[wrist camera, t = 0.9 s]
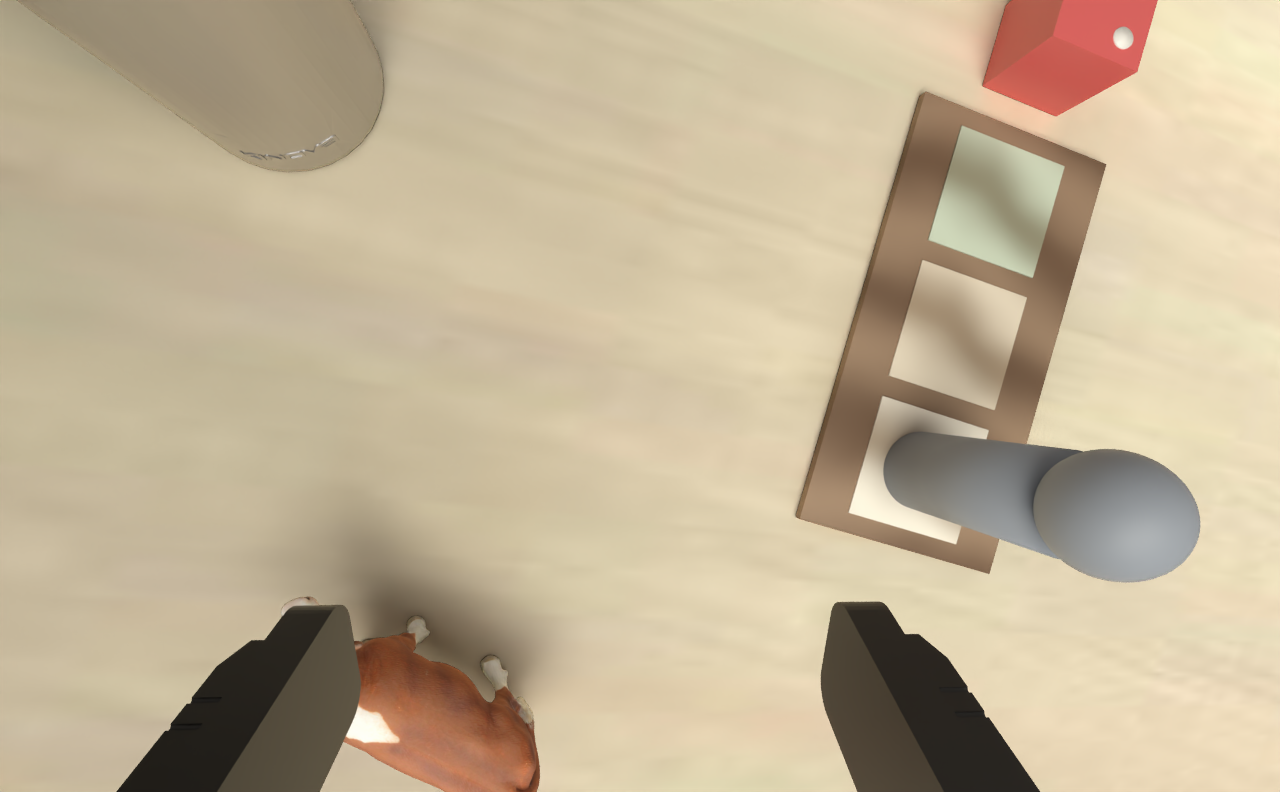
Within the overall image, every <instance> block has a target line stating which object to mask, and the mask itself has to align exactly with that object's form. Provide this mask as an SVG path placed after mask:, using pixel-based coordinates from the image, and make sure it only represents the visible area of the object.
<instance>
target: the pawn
mask: <svg viewBox="0 0 1280 792" xmlns="http://www.w3.org/2000/svg"><path fill="white" fill-rule="evenodd" d="M883 475H884V481H885V485H886V487H887V489H888V491H889V493H890V494H891V496H892V497H893V498H894V499H895V500H896V501H897V502H898V503H900V504H901V505H903V506H905V507H908V508H911V509H914V510H917V511H920V512H922V513H925V514H928V515H931V516H934V517H937V518H940V519H943V520H946V521H949V522H951V523H954V524H957V525H960V526H963V527H966V528H969V529H972V530H975V531H978V532H981V533H983V534H986V535H989V536H992V537H995V538H998V539H1001V540H1004V541H1007V542H1010V543H1012V544H1015V545H1018V546H1021V547H1024V548H1027V549H1030V550H1033V551H1036V552H1039V553H1041V554H1044V555H1047V556H1050V557H1053V558H1057V559H1061V560H1062V561H1063V562H1065V563H1066V564H1067V565H1069V566H1071V567H1072V568H1074V569H1076V570H1078V571H1080V572H1082V573H1084V574H1086V575H1089V576H1092V577H1095V578H1098V579H1102V580H1107V581H1113V582H1141V581H1146V580H1151V579H1154V578H1157V577H1160V576H1162V575H1165V574H1167V573H1169V572H1171V571H1172V570H1174V569H1175V568H1177V567H1178V566H1179V565H1181V564H1182V563H1183V562H1184V561H1185V560H1186V559H1187V558H1188V556H1189V555H1190V554H1191V552H1192V551H1193V549H1194V547H1195V545H1196V543H1197V540H1198V537H1199V533H1200V516H1199V511H1198V507H1197V504H1196V502H1195V499H1194V498H1193V496H1192V494H1191V492H1190V491H1189V489H1188V488H1187V486H1186V485H1185V484H1184V483H1183V482H1182V481H1181V480H1180V479H1179V478H1178V476H1177V475H1175V474H1174V473H1173V472H1172V471H1170V470H1169V469H1168V468H1166V467H1165V466H1163V465H1162V464H1160V463H1158V462H1156V461H1154V460H1152V459H1150V458H1148V457H1145V456H1143V455H1140V454H1137V453H1133V452H1129V451H1123V450H1115V449H1098V450H1090V451H1085V452H1083V451H1079V450H1071V449H1063V448H1054V447H1046V446H1038V445H1029V444H1021V443H1013V442H1005V441H996V440H988V439H980V438H972V437H963V436H955V435H947V434H938V433H930V432H913V433H909V434H907V435H905V436H903V437H901V438H900V439H898V440H897V441H896V442H895V443H894V444H893V445H892V447H891V448H890V450H889V451H888V453H887V455H886V458H885V462H884V468H883Z"/></svg>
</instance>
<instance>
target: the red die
mask: <svg viewBox="0 0 1280 792" xmlns="http://www.w3.org/2000/svg"><path fill="white" fill-rule="evenodd" d="M1157 1H1158V0H1011V1H1010V2H1009V3H1008V4H1007V5H1006V7H1005V10H1004V14H1003V17H1002V21H1001V24H1000V28H999V31H998V34H997V38H996V41H995V45H994V48H993V52H992V55H991V58H990V62H989V65H988V69H987V72H986V75H985V79H984V82H983V87H986V88H988V89H991V90H993V91H996V92H998V93H1001V94H1003V95H1005V96H1008V97H1010V98H1013V99H1015V100H1018V101H1020V102H1022V103H1025V104H1027V105H1030V106H1032V107H1035V108H1037V109H1039V110H1042V111H1044V112H1047V113H1049V114H1052V115H1054V116H1058V115H1060V114H1061V113H1063V112H1065V111H1067V110H1069V109H1071V108H1072V107H1074V106H1076V105H1078V104H1080V103H1081V102H1083V101H1085V100H1087V99H1089V98H1091V97H1092V96H1094V95H1096V94H1098V93H1100V92H1102V91H1103V90H1105V89H1107V88H1109V87H1111V86H1112V85H1114V84H1116V83H1118V82H1120V81H1122V80H1123V79H1125V78H1127V77H1129V76H1131V75H1133V74H1134V73H1136V72H1137V71H1138V67H1139V64H1140V60H1141V57H1142V53H1143V50H1144V46H1145V43H1146V39H1147V36H1148V32H1149V29H1150V25H1151V22H1152V18H1153V15H1154V11H1155V8H1156V4H1157Z"/></svg>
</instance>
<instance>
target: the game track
mask: <svg viewBox="0 0 1280 792" xmlns="http://www.w3.org/2000/svg"><path fill="white" fill-rule="evenodd" d="M1105 167H1106V164H1104V163H1102V162H1099V161H1097V160H1094V159H1092V158H1089V157H1087V156H1084V155H1082V154H1079V153H1077V152H1074V151H1072V150H1069V149H1067V148H1064V147H1062V146H1059V145H1057V144H1054V143H1052V142H1049V141H1047V140H1045V139H1042V138H1040V137H1037V136H1035V135H1032V134H1030V133H1027V132H1025V131H1022V130H1020V129H1017V128H1015V127H1012V126H1010V125H1007V124H1005V123H1002V122H1000V121H997V120H995V119H992V118H990V117H987V116H985V115H983V114H980V113H978V112H975V111H973V110H970V109H968V108H965V107H963V106H960V105H958V104H955V103H953V102H950V101H948V100H945V99H943V98H940V97H938V96H935V95H933V94H930V93H928V92H925V93H923V94H922V95H921V96H920V97H919V99H918V103H917V106H916V110H915V113H914V116H913V120H912V123H911V127H910V130H909V133H908V137H907V140H906V144H905V147H904V150H903V154H902V157H901V160H900V164H899V167H898V171H897V174H896V177H895V181H894V184H893V188H892V191H891V194H890V198H889V201H888V205H887V208H886V211H885V215H884V218H883V222H882V225H881V228H880V232H879V235H878V238H877V242H876V245H875V249H874V252H873V255H872V259H871V262H870V266H869V269H868V272H867V276H866V279H865V283H864V286H863V289H862V293H861V296H860V300H859V303H858V306H857V310H856V313H855V316H854V320H853V323H852V327H851V330H850V333H849V337H848V340H847V344H846V347H845V350H844V354H843V357H842V361H841V364H840V367H839V371H838V374H837V378H836V381H835V384H834V388H833V391H832V394H831V398H830V401H829V405H828V408H827V411H826V415H825V418H824V422H823V425H822V428H821V432H820V435H819V439H818V442H817V445H816V449H815V452H814V456H813V459H812V462H811V466H810V469H809V473H808V476H807V479H806V483H805V486H804V489H803V493H802V496H801V500H800V503H799V506H798V510H797V513H796V517H797V518H799V519H801V520H805V521H808V522H812V523H815V524H819V525H822V526H825V527H829V528H832V529H836V530H839V531H843V532H846V533H850V534H853V535H857V536H860V537H863V538H867V539H870V540H874V541H877V542H881V543H884V544H888V545H891V546H895V547H898V548H901V549H905V550H908V551H912V552H915V553H919V554H922V555H926V556H929V557H933V558H936V559H940V560H943V561H946V562H950V563H953V564H957V565H960V566H964V567H967V568H971V569H974V570H978V571H981V572H984V573H988V574H989V573H990V570H991V566H992V563H993V559H994V556H995V552H996V549H997V545H998V542H999V539H998V538H995V537H992V536H989V535H986V534H983V533H981V532H978V531H975V530H972V529H969V528H966V527H963V526H960V525H957V524H954V523H951V522H949V521H946V520H943V519H940V518H937V517H934V516H931V515H928V514H925V513H922V512H920V511H917V510H914V509H911V508H908V507H905V506H903V505H901V504H900V503H898V502H897V501H896V500H895V499H894V498H893V497H892V496H891V494H890V493H889V491H888V489H887V487H886V485H885V481H884V475H883V468H884V462H885V458H886V455H887V453H888V451H889V450H890V448H891V447H892V445H893V444H894V443H895V442H896V441H897V440H898V439H900V438H901V437H903V436H905V435H907V434H909V433H913V432H930V433H938V434H947V435H955V436H963V437H972V438H980V439H988V440H996V441H1005V442H1013V443H1021V444H1027V440H1028V437H1029V433H1030V430H1031V426H1032V423H1033V419H1034V416H1035V412H1036V409H1037V405H1038V402H1039V398H1040V395H1041V391H1042V387H1043V384H1044V380H1045V377H1046V373H1047V370H1048V366H1049V363H1050V359H1051V356H1052V352H1053V349H1054V345H1055V342H1056V338H1057V335H1058V331H1059V328H1060V324H1061V321H1062V317H1063V314H1064V310H1065V307H1066V303H1067V300H1068V296H1069V293H1070V289H1071V286H1072V282H1073V279H1074V275H1075V272H1076V268H1077V265H1078V261H1079V258H1080V254H1081V251H1082V247H1083V244H1084V240H1085V237H1086V233H1087V230H1088V226H1089V223H1090V219H1091V216H1092V212H1093V209H1094V205H1095V202H1096V198H1097V195H1098V191H1099V188H1100V184H1101V181H1102V177H1103V174H1104V170H1105Z"/></svg>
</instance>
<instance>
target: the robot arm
mask: <svg viewBox="0 0 1280 792" xmlns="http://www.w3.org/2000/svg"><path fill="white" fill-rule="evenodd" d="M17 1H18V2H20V3H21V4H22V5H24V6H25V7H27V8H28V9H29V10H31V11H32V12H34V13H35V14H36V15H38V16H39V17H41V18H42V19H43V20H45V21H46V22H48V23H49V24H50V25H52V26H53V27H55V28H56V29H57V30H59V31H60V32H62V33H63V34H64V35H66V36H67V37H69V38H70V39H71V40H73V41H74V42H76V43H77V44H78V45H80V46H81V47H83V48H84V49H85V50H87V51H88V52H90V53H91V54H92V55H94V56H95V57H97V58H98V59H99V60H101V61H102V62H104V63H105V64H106V65H108V66H109V67H111V68H112V69H113V70H115V71H116V72H118V73H119V74H120V75H122V76H123V77H125V78H126V79H127V80H129V81H130V82H132V83H133V84H134V85H136V86H137V87H139V88H140V89H141V90H143V91H144V92H146V93H147V94H148V95H150V96H151V97H153V98H154V99H155V100H157V101H158V102H160V103H161V104H162V105H164V106H165V107H167V108H168V109H169V110H171V111H172V112H174V113H175V114H176V115H178V116H179V117H180V118H182V119H183V120H185V121H186V122H187V123H189V124H190V125H192V126H193V127H194V128H196V129H197V130H199V131H200V132H201V133H203V134H204V135H206V136H207V137H209V138H210V139H211V140H213V141H214V142H216V143H217V144H218V145H220V146H221V147H223V148H224V149H225V150H227V151H228V152H230V153H232V154H233V155H235V156H237V157H239V158H240V159H242V160H244V161H246V162H248V163H250V164H253V165H256V166H259V167H262V168H265V169H270V170H277V171H285V172H295V171H309V170H313V169H316V168H320V167H323V166H327V165H330V164H332V163H333V162H335V161H337V160H339V159H341V158H343V157H345V156H346V155H348V154H349V153H350V152H351V151H352V150H354V149H355V148H356V147H357V146H358V145H359V144H361V142H362V141H363V140H364V138H365V137H366V136H367V134H368V133H369V132H370V130H371V129H372V127H373V125H374V123H375V121H376V118H377V116H378V114H379V111H380V107H381V102H382V97H383V71H382V68H381V64H380V60H379V56H378V53H377V50H376V48H375V46H374V44H373V42H372V40H371V38H370V36H369V34H368V32H367V31H366V29H365V27H364V25H363V23H362V21H361V20H360V18H359V16H358V14H357V12H356V10H355V8H354V7H353V5H352V3H351V1H350V0H17ZM360 690H361V679H360V672H359V666H358V661H357V655H356V650H355V644H354V639H353V633H352V627H351V622H350V616H349V613H348V610H347V609H346V607H345V606H343V605H303V606H293V607H291V608H289V609H288V610H287V611H286V612H285V614H284V615H283V616H282V618H281V619H280V620H279V622H278V623H277V624H276V626H275V627H274V628H273V630H272V631H271V632H270V634H269V635H268V636H267V638H266V639H265V640H251V641H250V642H249V643H247V644H246V645H245V646H243V647H242V648H241V649H239V650H238V651H237V652H235V653H234V654H233V655H231V656H230V657H229V658H227V659H226V660H225V661H223V662H222V663H221V664H219V665H218V666H217V667H216V668H215V669H214V671H213V672H212V673H211V674H210V676H209V677H208V678H207V679H206V681H205V682H204V683H203V684H202V686H201V687H200V688H199V689H198V691H197V692H196V693H195V694H194V696H193V697H192V701H191V703H190V704H186V706H185V707H184V708H183V709H182V711H181V712H180V713H179V714H178V716H177V717H176V718H175V719H174V721H173V722H172V723H171V728H170V730H169V731H165V732H164V733H163V734H162V736H161V737H160V738H159V739H158V741H157V742H156V743H155V744H154V745H153V747H152V748H151V749H150V750H149V752H148V753H147V754H146V755H145V757H144V758H143V759H142V760H141V762H140V763H139V764H138V765H137V767H136V768H135V769H134V770H133V772H132V773H131V774H130V775H129V777H128V778H127V779H126V780H125V782H124V783H123V784H122V785H121V787H120V788H119V789H118V790H117V792H320V790H321V788H322V785H323V783H324V781H325V779H326V777H327V775H328V773H329V771H330V769H331V766H332V764H333V762H334V760H335V758H336V756H337V754H338V752H339V750H340V747H341V745H342V743H343V741H344V739H345V737H346V735H347V733H348V731H349V728H350V726H351V724H352V722H353V720H354V717H355V714H356V711H357V708H358V703H359V698H360ZM821 691H822V698H823V703H824V707H825V710H826V713H827V716H828V719H829V721H830V724H831V726H832V729H833V731H834V734H835V736H836V739H837V741H838V744H839V746H840V749H841V751H842V754H843V756H844V759H845V761H846V764H847V766H848V769H849V772H850V774H851V777H852V779H853V782H854V784H855V787H856V789H857V792H1040V791H1039V789H1038V788H1037V787H1036V785H1035V784H1034V782H1033V781H1032V779H1031V778H1030V776H1029V775H1028V774H1027V772H1026V771H1025V769H1024V768H1023V766H1022V765H1021V763H1020V762H1019V761H1018V759H1017V758H1016V756H1015V755H1014V753H1013V752H1012V750H1011V749H1010V747H1009V746H1008V745H1007V743H1006V742H1005V740H1004V739H1003V737H1002V736H1001V734H1000V733H999V732H998V730H997V729H996V727H995V726H994V724H993V723H992V721H991V720H990V719H989V717H987V718H986V717H985V714H984V710H983V708H982V707H981V706H980V704H979V703H978V701H977V700H976V698H975V697H974V695H973V694H972V693H969V692H968V689H967V685H966V684H965V682H964V681H963V680H962V678H961V677H960V675H959V674H958V672H957V671H956V669H955V668H954V667H953V665H952V664H951V662H950V661H949V659H948V658H947V657H946V656H944V655H943V654H942V653H941V652H940V651H938V650H937V649H936V648H935V647H934V646H932V645H931V644H930V643H929V642H928V641H926V640H925V639H924V638H923V637H921V636H920V635H919V634H904V632H903V631H902V629H901V627H900V626H899V624H898V623H897V621H896V619H895V618H894V616H893V615H892V613H891V612H890V610H889V609H888V607H887V606H886V605H885V604H884V603H882V602H837V603H835V604H834V606H833V608H832V611H831V617H830V623H829V628H828V634H827V640H826V646H825V652H824V658H823V664H822V670H821Z"/></svg>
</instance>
